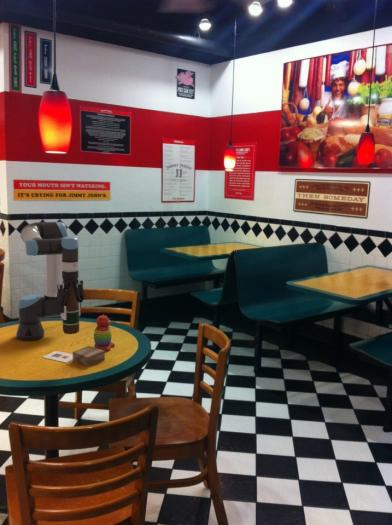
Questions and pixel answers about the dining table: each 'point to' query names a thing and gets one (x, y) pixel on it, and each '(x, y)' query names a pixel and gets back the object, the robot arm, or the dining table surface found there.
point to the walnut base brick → (88, 356)
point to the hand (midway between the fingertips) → (70, 317)
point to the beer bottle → (71, 314)
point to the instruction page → (59, 356)
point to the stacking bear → (103, 334)
